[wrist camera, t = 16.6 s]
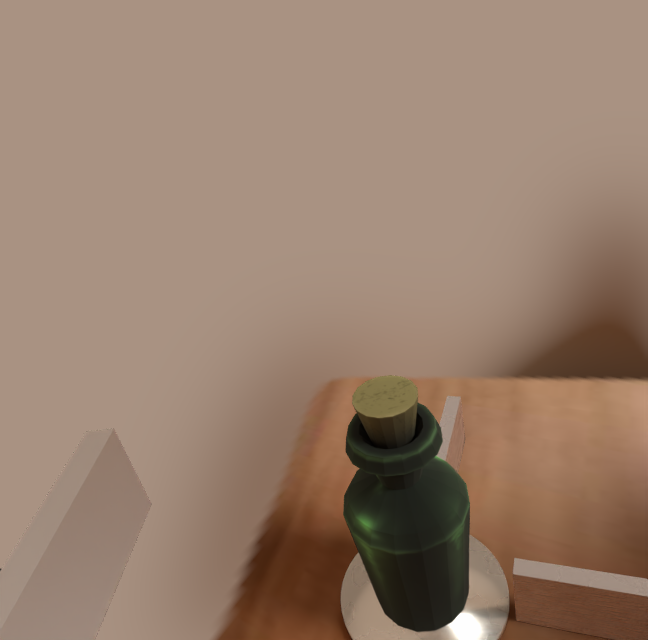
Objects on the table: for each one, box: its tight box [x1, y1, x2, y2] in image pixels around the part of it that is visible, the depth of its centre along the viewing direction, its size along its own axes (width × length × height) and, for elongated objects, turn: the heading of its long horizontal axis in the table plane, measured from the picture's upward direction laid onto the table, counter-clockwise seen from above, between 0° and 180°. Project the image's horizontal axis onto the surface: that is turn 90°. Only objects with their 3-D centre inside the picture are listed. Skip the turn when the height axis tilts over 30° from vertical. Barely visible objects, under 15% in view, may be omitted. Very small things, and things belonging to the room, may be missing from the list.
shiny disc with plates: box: [341, 396, 648, 640], centre depth 43 cm, size 19×24×5 cm
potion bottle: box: [343, 375, 470, 632], centre depth 39 cm, size 8×8×18 cm
